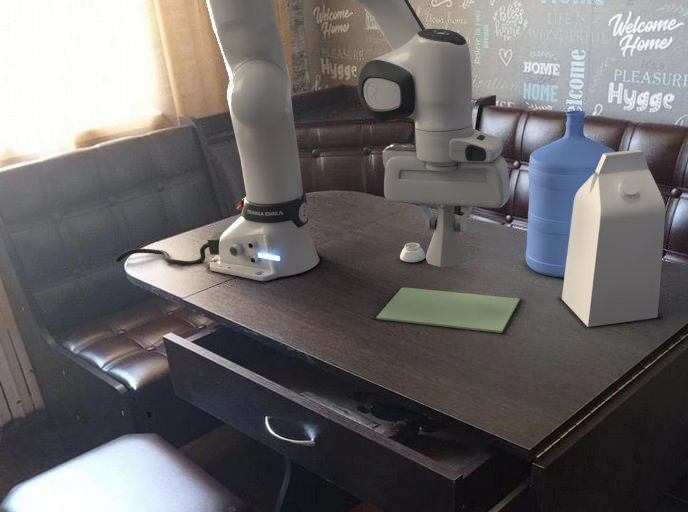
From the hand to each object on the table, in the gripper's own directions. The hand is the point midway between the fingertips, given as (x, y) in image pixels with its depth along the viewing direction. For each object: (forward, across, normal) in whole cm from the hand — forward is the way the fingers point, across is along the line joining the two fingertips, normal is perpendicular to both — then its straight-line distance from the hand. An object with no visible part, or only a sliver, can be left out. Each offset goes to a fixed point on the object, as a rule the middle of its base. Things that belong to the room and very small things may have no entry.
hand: (446, 230), depth 126 cm
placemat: (+14, 0, 0) cm, 15 cm away
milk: (+15, +26, +7) cm, 31 cm away
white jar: (+15, -14, +21) cm, 29 cm away
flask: (+6, 0, 0) cm, 6 cm away
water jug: (+15, +16, +25) cm, 33 cm away
